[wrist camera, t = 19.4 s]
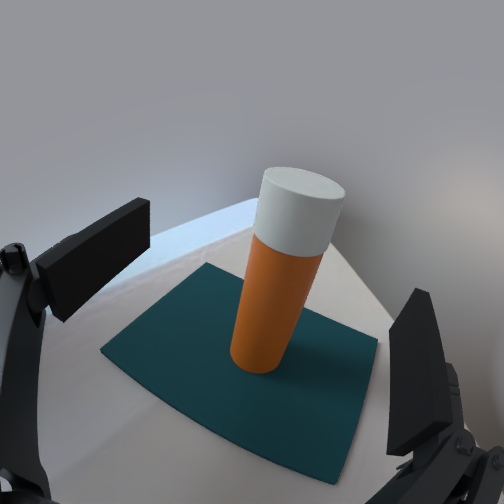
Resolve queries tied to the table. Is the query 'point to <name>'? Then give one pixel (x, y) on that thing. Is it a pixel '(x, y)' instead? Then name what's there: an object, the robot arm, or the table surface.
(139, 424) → the table surface
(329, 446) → the mat
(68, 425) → the table surface
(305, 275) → the glue stick
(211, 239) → the table surface
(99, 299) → the table surface
